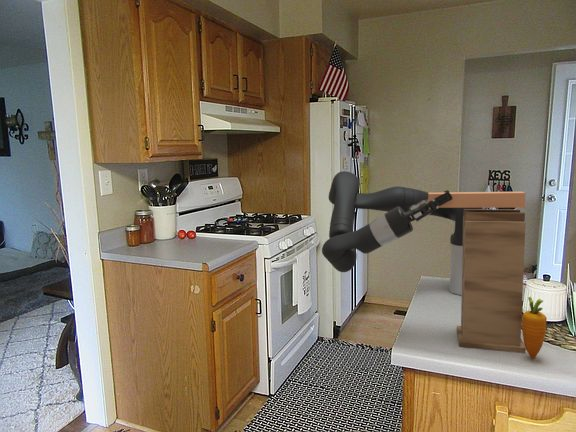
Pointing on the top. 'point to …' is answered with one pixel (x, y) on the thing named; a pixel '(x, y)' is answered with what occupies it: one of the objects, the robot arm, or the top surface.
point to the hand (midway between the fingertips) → (450, 194)
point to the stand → (492, 279)
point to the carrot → (533, 328)
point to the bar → (482, 199)
